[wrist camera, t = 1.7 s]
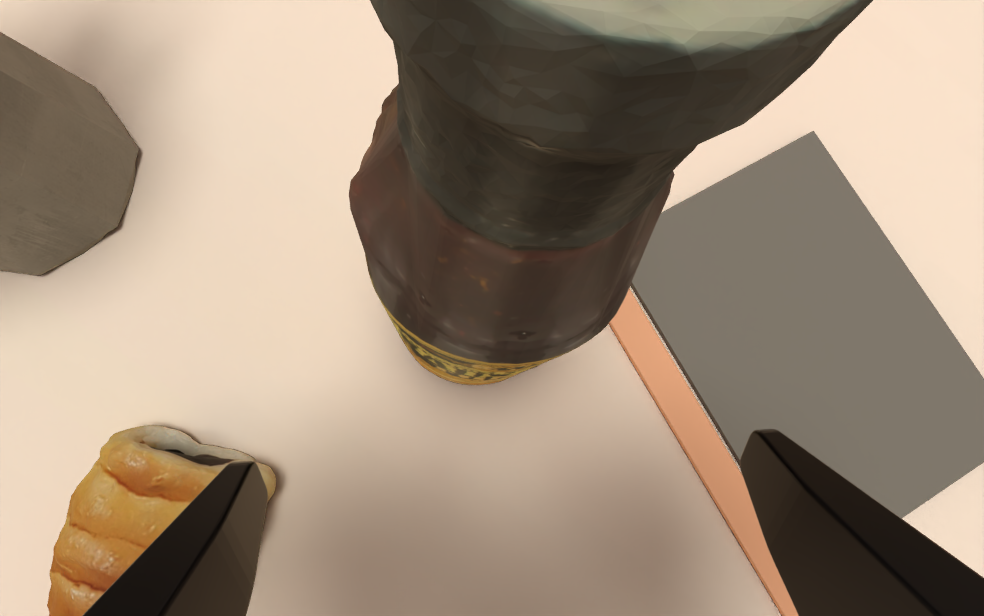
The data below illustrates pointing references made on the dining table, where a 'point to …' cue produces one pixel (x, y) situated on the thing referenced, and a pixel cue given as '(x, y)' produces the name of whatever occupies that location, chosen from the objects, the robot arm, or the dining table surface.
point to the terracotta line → (698, 442)
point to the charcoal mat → (813, 328)
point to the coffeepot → (56, 163)
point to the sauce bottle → (550, 157)
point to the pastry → (129, 508)
